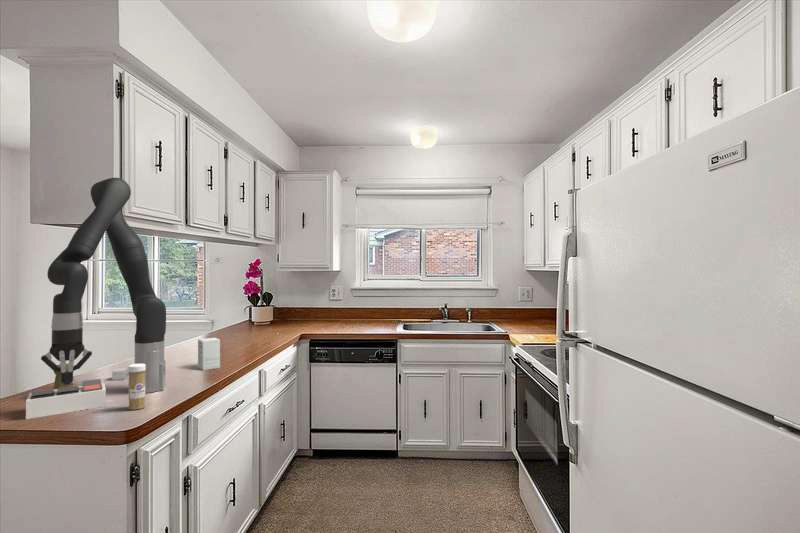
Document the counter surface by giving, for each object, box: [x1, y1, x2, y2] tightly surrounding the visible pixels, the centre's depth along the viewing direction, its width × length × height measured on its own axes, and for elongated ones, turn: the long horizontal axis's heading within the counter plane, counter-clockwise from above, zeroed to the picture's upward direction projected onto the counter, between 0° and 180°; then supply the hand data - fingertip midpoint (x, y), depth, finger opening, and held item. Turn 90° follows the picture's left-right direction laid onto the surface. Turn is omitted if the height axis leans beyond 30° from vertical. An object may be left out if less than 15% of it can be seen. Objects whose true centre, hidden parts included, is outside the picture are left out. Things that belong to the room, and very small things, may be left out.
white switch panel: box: [25, 382, 107, 420], centre depth 134 cm, size 19×10×5 cm, turn 126°
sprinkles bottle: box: [127, 363, 146, 411], centre depth 134 cm, size 5×5×14 cm
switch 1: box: [31, 388, 54, 396], centre depth 131 cm, size 5×7×1 cm
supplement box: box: [197, 337, 221, 371], centre depth 189 cm, size 7×7×13 cm
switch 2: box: [82, 378, 102, 392], centre depth 138 cm, size 5×7×1 cm
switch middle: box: [58, 384, 79, 393], centre depth 135 cm, size 5×7×1 cm
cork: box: [52, 363, 74, 390], centre depth 147 cm, size 6×6×11 cm
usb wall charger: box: [111, 367, 129, 381], centre depth 171 cm, size 4×7×4 cm, turn 103°
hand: (67, 384), depth 132 cm, fingers closed
